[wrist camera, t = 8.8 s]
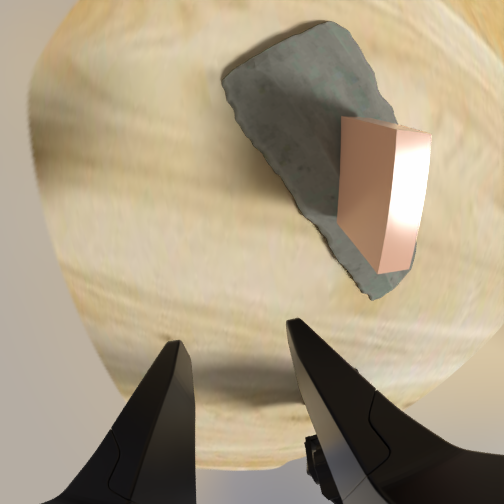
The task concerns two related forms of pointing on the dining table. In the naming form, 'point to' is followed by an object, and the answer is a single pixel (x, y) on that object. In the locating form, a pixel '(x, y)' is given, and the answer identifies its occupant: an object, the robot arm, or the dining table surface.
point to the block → (382, 189)
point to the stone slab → (312, 127)
